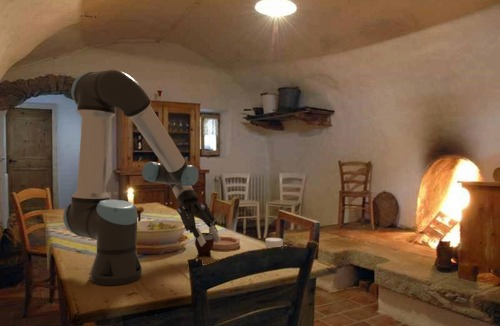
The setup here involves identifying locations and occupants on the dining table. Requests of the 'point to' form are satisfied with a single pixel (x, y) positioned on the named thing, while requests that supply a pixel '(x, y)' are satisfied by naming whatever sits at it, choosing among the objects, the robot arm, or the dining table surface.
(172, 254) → the dining table surface
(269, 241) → the white cup
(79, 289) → the dining table surface
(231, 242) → the ring saucer
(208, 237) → the mate gourd
